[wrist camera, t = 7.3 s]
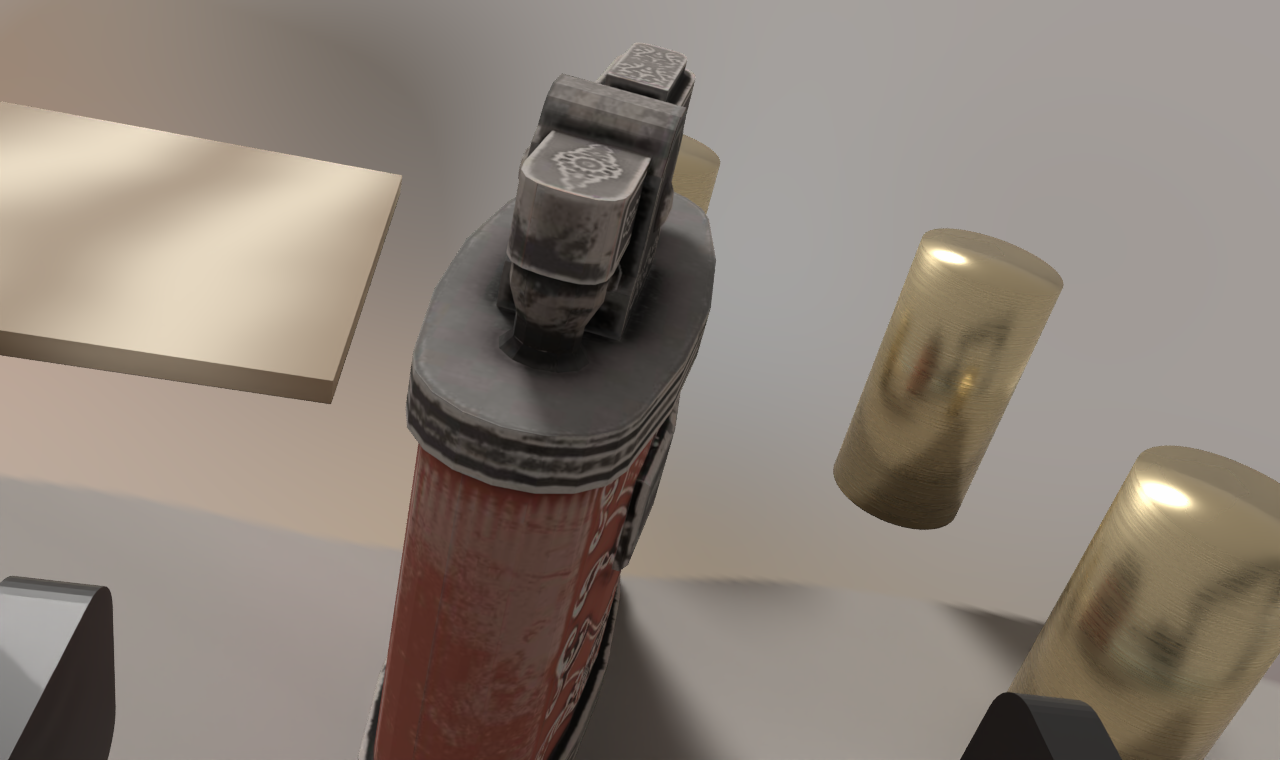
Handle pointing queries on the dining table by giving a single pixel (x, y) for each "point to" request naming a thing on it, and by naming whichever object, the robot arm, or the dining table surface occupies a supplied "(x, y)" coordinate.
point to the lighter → (545, 425)
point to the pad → (183, 254)
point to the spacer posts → (1128, 535)
